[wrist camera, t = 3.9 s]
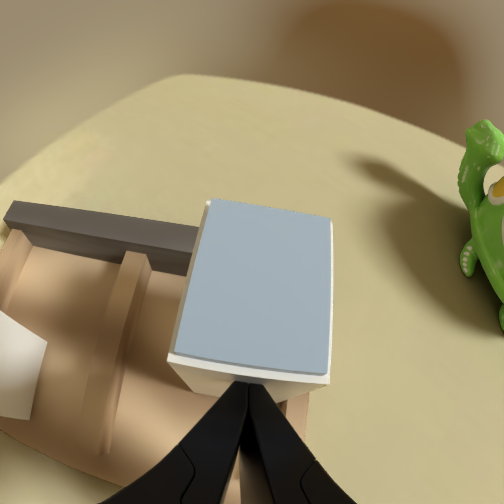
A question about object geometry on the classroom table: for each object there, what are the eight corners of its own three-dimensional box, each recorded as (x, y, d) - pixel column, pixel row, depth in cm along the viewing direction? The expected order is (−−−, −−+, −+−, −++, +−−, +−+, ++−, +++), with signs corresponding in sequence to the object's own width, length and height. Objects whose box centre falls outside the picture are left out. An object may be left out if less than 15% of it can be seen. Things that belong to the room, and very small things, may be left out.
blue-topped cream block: (272, 404, 14) (334, 382, 7) (194, 392, 14) (164, 357, 7) (282, 315, 17) (336, 214, 9) (210, 303, 17) (206, 192, 9)
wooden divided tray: (287, 510, 12) (303, 529, 9) (-26, 409, 12) (-59, 400, 9) (310, 276, 19) (327, 246, 16) (34, 228, 19) (14, 199, 16)
